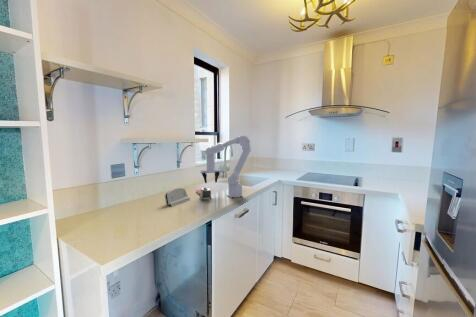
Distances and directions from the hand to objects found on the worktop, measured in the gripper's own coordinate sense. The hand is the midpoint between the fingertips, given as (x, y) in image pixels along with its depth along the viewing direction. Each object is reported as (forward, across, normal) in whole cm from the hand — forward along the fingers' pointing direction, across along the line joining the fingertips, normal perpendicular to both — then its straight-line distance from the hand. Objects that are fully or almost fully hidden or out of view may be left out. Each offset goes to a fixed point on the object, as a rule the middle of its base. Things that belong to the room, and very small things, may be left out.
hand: (210, 182), depth 154 cm
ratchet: (+9, +6, -2) cm, 11 cm away
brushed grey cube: (+8, +6, +7) cm, 12 cm away
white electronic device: (+10, +25, +7) cm, 28 cm away
